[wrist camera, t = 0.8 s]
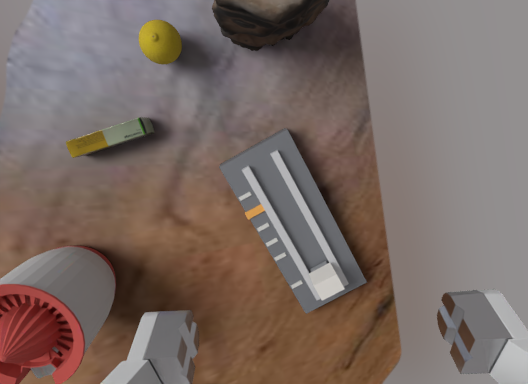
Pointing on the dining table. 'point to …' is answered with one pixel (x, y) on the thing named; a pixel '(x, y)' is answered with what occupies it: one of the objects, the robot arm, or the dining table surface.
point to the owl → (264, 19)
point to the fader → (325, 280)
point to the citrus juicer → (53, 312)
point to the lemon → (160, 42)
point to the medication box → (110, 137)
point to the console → (291, 216)
